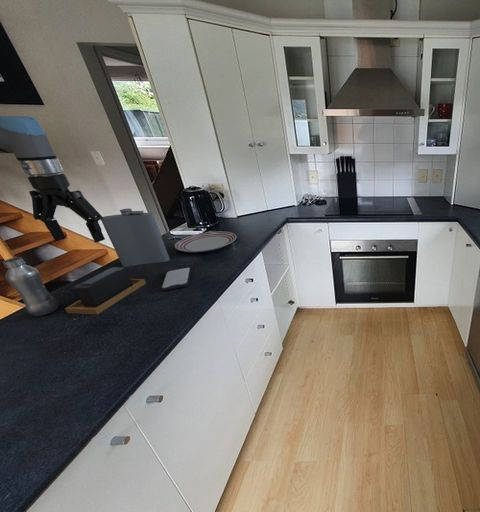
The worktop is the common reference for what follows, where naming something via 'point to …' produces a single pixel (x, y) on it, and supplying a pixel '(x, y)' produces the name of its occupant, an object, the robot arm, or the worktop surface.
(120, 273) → the gadget
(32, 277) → the plastic bottle
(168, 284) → the phone case
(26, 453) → the worktop surface
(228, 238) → the dinner plate
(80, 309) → the tray
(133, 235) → the flask
